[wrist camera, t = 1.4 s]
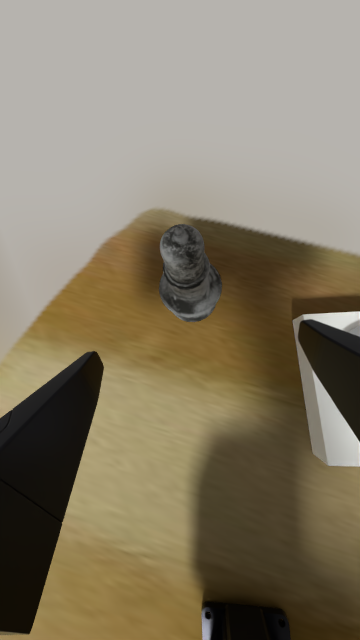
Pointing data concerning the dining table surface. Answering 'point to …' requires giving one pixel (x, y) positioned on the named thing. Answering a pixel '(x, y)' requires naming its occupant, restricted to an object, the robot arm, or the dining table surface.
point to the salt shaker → (187, 275)
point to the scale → (327, 400)
